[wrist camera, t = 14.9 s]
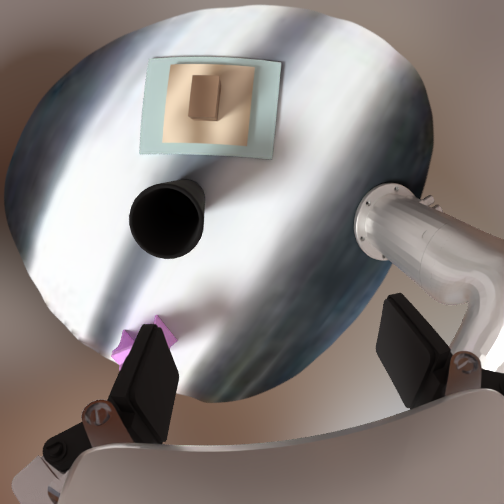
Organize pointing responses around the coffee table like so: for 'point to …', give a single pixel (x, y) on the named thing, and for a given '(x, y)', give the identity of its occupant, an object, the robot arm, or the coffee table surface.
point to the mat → (256, 146)
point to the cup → (168, 218)
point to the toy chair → (127, 342)
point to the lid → (208, 104)
